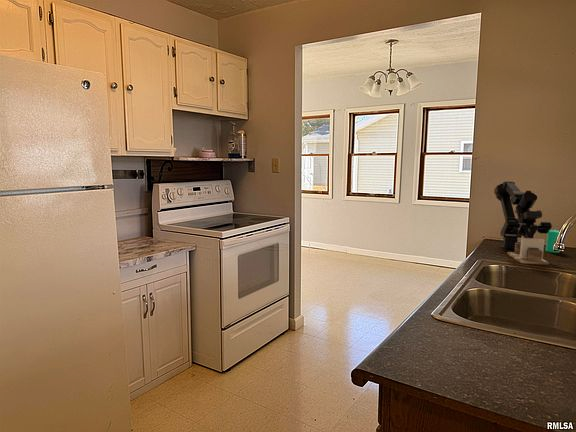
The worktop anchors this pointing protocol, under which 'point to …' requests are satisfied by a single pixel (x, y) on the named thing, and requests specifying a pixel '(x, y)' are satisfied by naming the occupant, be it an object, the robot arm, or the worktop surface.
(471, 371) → the worktop surface
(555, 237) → the candle
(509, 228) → the robot arm
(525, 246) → the sleeve
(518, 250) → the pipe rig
